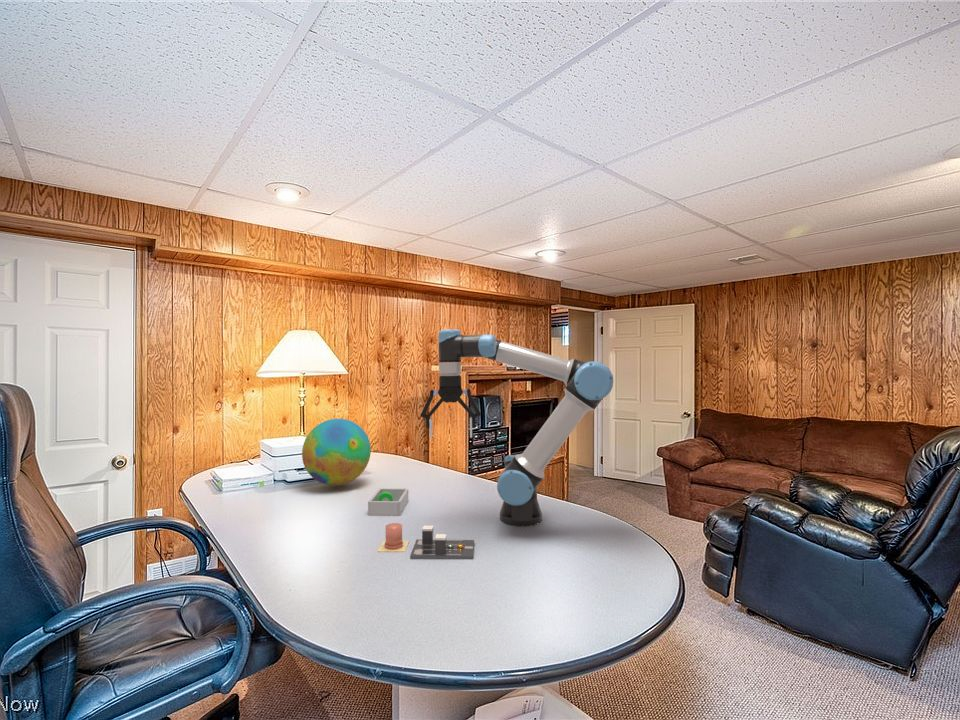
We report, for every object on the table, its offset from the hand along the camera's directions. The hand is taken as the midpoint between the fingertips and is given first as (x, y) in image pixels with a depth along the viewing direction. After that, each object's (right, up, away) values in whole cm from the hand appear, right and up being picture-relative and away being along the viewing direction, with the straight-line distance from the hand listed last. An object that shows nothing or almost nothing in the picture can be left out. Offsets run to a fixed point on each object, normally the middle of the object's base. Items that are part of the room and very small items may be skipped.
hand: (451, 437), depth 159 cm
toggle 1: (-6, -29, -16) cm, 34 cm away
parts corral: (-25, -31, +22) cm, 45 cm away
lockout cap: (-16, -30, -16) cm, 38 cm away
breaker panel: (-1, -31, -20) cm, 37 cm away
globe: (-56, -31, +55) cm, 84 cm away
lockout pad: (-16, -31, -16) cm, 39 cm away
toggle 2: (-2, -29, -23) cm, 38 cm away
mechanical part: (-31, -33, +24) cm, 51 cm away
